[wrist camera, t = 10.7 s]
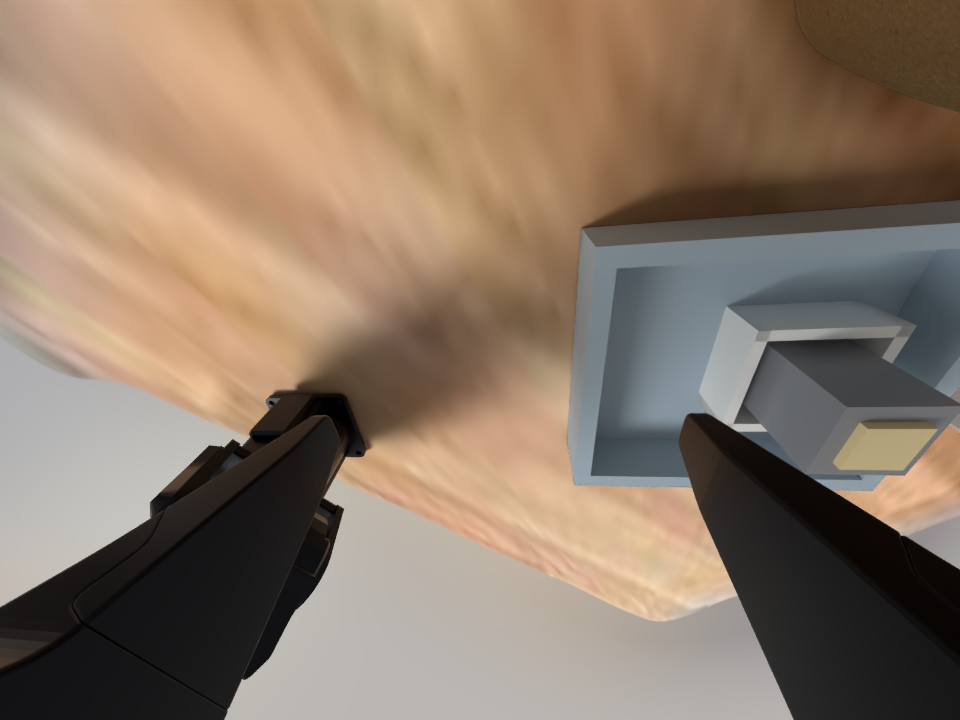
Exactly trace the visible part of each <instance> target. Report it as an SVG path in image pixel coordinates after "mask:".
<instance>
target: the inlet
mask: <svg viewBox="0 0 960 720" xmlns="http://www.w3.org/2000/svg"><path fill="white" fill-rule="evenodd" d="M916 327H917V325H915V324H913V323H910V322H908V321H906V320H904V319H902V318H899V317H897V316H895V315H893V314H890V313H888V312H886V311H884V310H882V309H879V308H877V307H875V306H873V305H870V304H868V303H866V302H864V301H862V300H859V301H836V302H812V303H789V304H766V305H743V306H726V309H725V312H724V315H723V318H722V321H721V324H720V327H719V330H718V334H717V337H716V340H715V343H714V346H713V349H712V352H711V355H710V358H709V362H708V365H707V368H706V371H705V374H704V377H703V380H702V383H701V386H700V390H699V393H698V396H697V399H696V400H697V401H698V402H699V404H700V405H701V407H702V408H703V410H704V411H705V412H706V413H707V414H710V415H711V416H713V417H715V418H716V419H718V420H720V421H721V422H723V423H724V424H726V425H728V426H729V427H731V428H732V429H734V430H736V431H737V432H767V430H766V429H765V428H764V427H763V426H762V425H761V424H760V422H759V421H758V420H757V419H756V418H755V417H754V416H753V414H752V413H751V412H750V411H749V410H748V409H747V408H746V406H745V405H744V404H743V403H742V402H743V399H744V397H745V394H746V392H747V390H748V387H749V385H750V382H751V380H752V377H753V375H754V373H755V370H756V368H757V365H758V363H759V361H760V358H761V356H762V353H763V351H764V349H765V346H766V344H767V341H794V340H826V339H850V340H852V341H854V342H855V343H857V344H859V345H861V346H862V347H864V348H866V349H868V350H869V351H871V352H873V353H874V354H876V355H878V356H880V357H881V358H883V359H885V360H886V361H888V362H890V363H893V361H894V360H895V358H896V357H897V355H898V354H899V352H900V351H901V349H902V348H903V346H904V345H905V343H906V342H907V340H908V339H909V337H910V336H911V334H912V333H913V331H914V330H915V328H916Z"/></svg>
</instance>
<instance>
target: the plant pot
mask: <svg viewBox="0 0 960 720" xmlns="http://www.w3.org/2000/svg"><path fill="white" fill-rule="evenodd" d="M795 5H796V13H797V18H798V21H799V24H800V27H801V29H802V31H803V33H804V35H805V37H806V38H807V40H808V41H809V43H810V44H811V45H812V46H813V47H814V48H815V49H816V50H817V51H818V52H819V53H820V54H822V55H823V56H825V57H826V58H828V59H829V60H831V61H833V62H835V63H836V64H838V65H840V66H842V67H844V68H846V69H848V70H849V71H851V72H853V73H855V74H857V75H859V76H860V77H863V78H865V79H867V80H870V81H872V82H874V83H877V84H879V85H881V86H884V87H886V88H888V89H891V90H893V91H896V92H899V93H901V94H904V95H907V96H909V97H912V98H915V99H918V100H921V101H924V102H927V103H931V104H934V105H937V106H941V107H944V108H947V109H951V110H954V111H957V112H960V0H795Z"/></svg>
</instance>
